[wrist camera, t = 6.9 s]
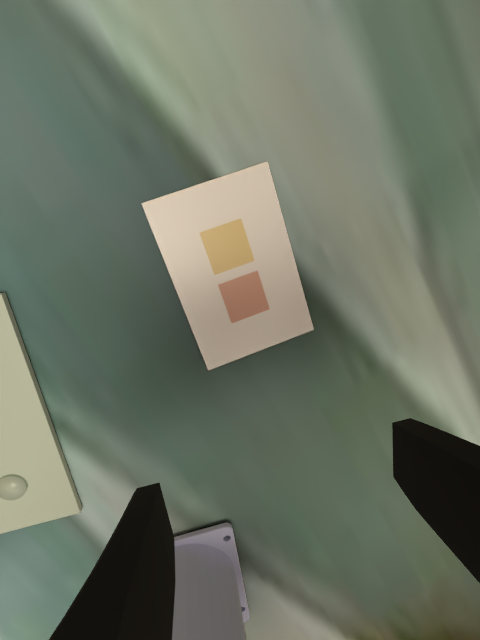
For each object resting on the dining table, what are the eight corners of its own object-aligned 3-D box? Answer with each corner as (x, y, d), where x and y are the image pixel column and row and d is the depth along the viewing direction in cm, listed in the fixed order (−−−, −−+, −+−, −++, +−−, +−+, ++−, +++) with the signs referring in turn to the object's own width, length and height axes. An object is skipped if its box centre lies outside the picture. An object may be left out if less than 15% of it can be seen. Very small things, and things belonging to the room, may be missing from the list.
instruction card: (312, 328, 20) (314, 330, 19) (207, 369, 19) (208, 371, 19) (266, 162, 17) (267, 160, 17) (141, 203, 16) (141, 203, 16)
